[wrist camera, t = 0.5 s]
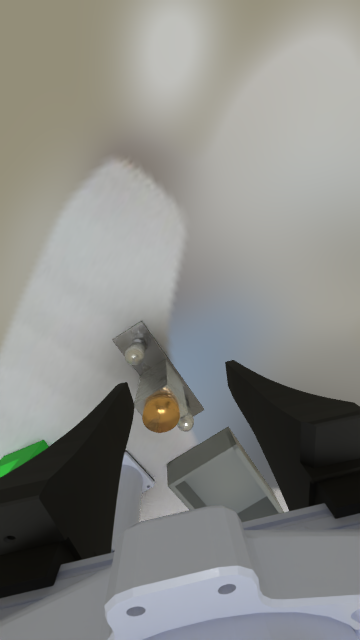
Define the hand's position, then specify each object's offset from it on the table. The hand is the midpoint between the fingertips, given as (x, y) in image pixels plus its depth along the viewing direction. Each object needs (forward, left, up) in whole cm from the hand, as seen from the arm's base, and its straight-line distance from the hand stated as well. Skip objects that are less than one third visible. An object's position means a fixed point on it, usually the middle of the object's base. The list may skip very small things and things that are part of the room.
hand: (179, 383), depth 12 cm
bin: (-6, -26, -11) cm, 29 cm away
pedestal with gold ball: (-4, -4, -10) cm, 12 cm away
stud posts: (-4, -4, -11) cm, 12 cm away
